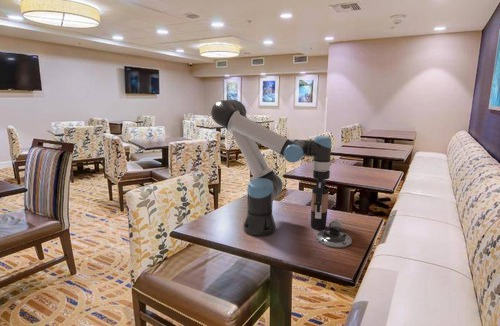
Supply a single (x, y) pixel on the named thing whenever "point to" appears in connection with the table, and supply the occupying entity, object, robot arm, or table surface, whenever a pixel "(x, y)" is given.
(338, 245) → the fitting
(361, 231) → the table surface
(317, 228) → the travel mug
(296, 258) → the table surface
